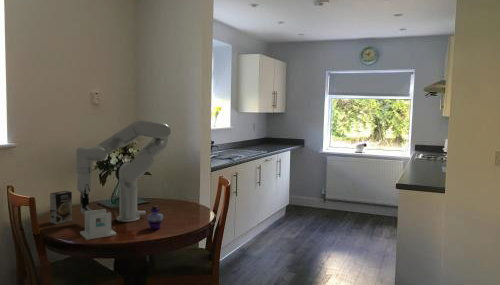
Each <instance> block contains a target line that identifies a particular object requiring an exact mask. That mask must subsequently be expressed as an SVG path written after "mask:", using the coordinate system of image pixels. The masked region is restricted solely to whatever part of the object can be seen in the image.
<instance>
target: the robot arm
mask: <svg viewBox="0 0 500 285" xmlns="http://www.w3.org/2000/svg"><path fill="white" fill-rule="evenodd" d="M171 133H172V132H171V128H170V126H169V125H168V124H167V123H163V122H157V121H156V122H155V121H149V120H145V119H137V120H134V121H133V122H132V123H130V124H128V125H127V126H126V127H124V128H122V129H121V130H119V131H118V132H116V133H114V134H113V135H111V136H109V137H108V138H107V139H105V140H103V141H101V142H100V143H99V144H97V145H95V146H94V147H89V146H82V147H77V148H76V152H75V153H76V154H75V156H76V158H75V159H76V175H77V177H76V178H77V179H76V181H77V183H76V190H77V191H78V192H80V194H79V195H80V197H79V198H80V199H79V200H80V202H79V203H80V205H81V206H82V205H88V206H89V204H90V196H89V195H90V192H91V191H92V190H91V189H92V187H91V186H92V185H91V184H92V183H91V180H92V179H91V174H93V167H92V165H93V164H92V162H93V161H94V162H102V161H104V160H106V159H107V156H108V155H109V154H111V153H113V152H114V151H115V150H118V149H119V148H124V147H125V146H128V145H129V144H130V143H133V142H134V141H135V140H137V139H138V138H140V137H141V136H142V137H143V136H144V137H149V138H152V139H151V140H150V141H149V142H148V143H147V144H146V145H145V146H144V147H143V148H141V149H140V150H139V151H138V152H137V153H136V154H135V155H134V158H133V159H132V160H131V161H130V162H125V163H123V164H122V165H120V167H119V170H118V178H119V180H118V181H119V215H118V216H116V221H118V222H123V223H132V222H136V221H139V220H140V219H141V215H146V214H147V212H146V210H138V180H139V179H140V178H141V177H142V176H143V175H144V174H145V173H147V171H149V170H150V169H151V168H152V166H153V165H154V164H155V159H156V158H157V157H158V156H159V155H160V154H161V153H162V152H163V151H164V150H165V148H166V147H167V144H168V140H169V137H170V135H171ZM84 191H86V192H84ZM82 192H83V198H82V196H81V193H82ZM84 193H85V194H84Z"/></svg>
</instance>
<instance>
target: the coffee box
mask: <svg viewBox="0 0 500 285" xmlns="http://www.w3.org/2000/svg"><path fill="white" fill-rule="evenodd" d="M72 193H73V192H72V191H69V190H67V191H66V190H63V191H62V190H60V191H56V192H50V193H49V220H50V221H49V222H50V224H54V225H59V224H60V225H61V224H63V223H69V222H72V221H73V201H72V200H73V199H72V198H73V197H72V196H73V194H72Z"/></svg>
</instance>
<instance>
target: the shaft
mask: <svg viewBox="0 0 500 285" xmlns="http://www.w3.org/2000/svg"><path fill="white" fill-rule="evenodd" d="M84 192H86V191H84ZM84 194H85V193H84ZM81 196H82V198H83V192H82V193H81ZM81 196H80V197H81ZM85 211H93V209H91V208H90V207H89V205H82V204H81V206H80V213H81V214H82V215H83V216H85ZM96 222H99V218H96Z"/></svg>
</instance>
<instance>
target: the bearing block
mask: <svg viewBox="0 0 500 285" xmlns="http://www.w3.org/2000/svg"><path fill="white" fill-rule="evenodd" d="M92 210H93V209H92ZM96 218H98V219H99V221H96ZM96 223H104V224H105V226H98V227H96ZM79 234H80V235H81V236H82V237H83V238H84V239H85V240H86V241H89V240H94V239H95V240H96V239H99V238H105V237H106V238H108V237H111V236H117V232H116V231H115V230H113V229H112V212H107V209H106V208H102V209H95V210H93V211H85V215H84V230H81V231H79Z"/></svg>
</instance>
